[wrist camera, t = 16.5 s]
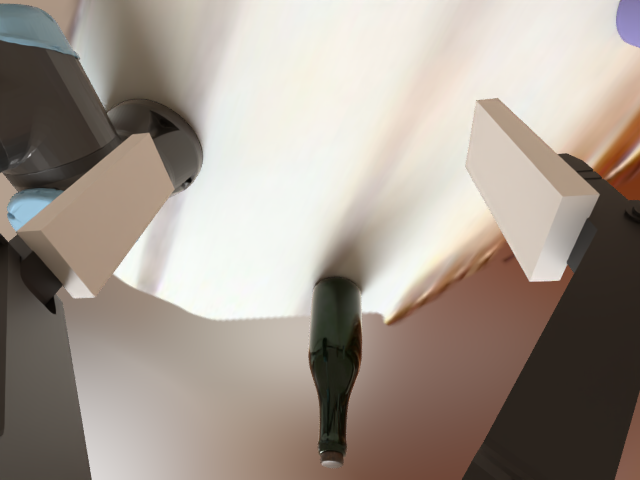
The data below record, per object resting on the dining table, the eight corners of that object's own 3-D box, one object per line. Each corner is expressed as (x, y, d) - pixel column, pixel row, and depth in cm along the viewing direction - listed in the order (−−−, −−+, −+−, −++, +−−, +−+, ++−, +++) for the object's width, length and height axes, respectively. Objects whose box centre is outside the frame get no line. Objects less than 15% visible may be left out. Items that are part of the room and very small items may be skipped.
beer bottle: (311, 305, 78) (295, 474, 52) (313, 273, 71) (295, 449, 46) (357, 309, 78) (363, 480, 52) (364, 277, 71) (374, 455, 46)
